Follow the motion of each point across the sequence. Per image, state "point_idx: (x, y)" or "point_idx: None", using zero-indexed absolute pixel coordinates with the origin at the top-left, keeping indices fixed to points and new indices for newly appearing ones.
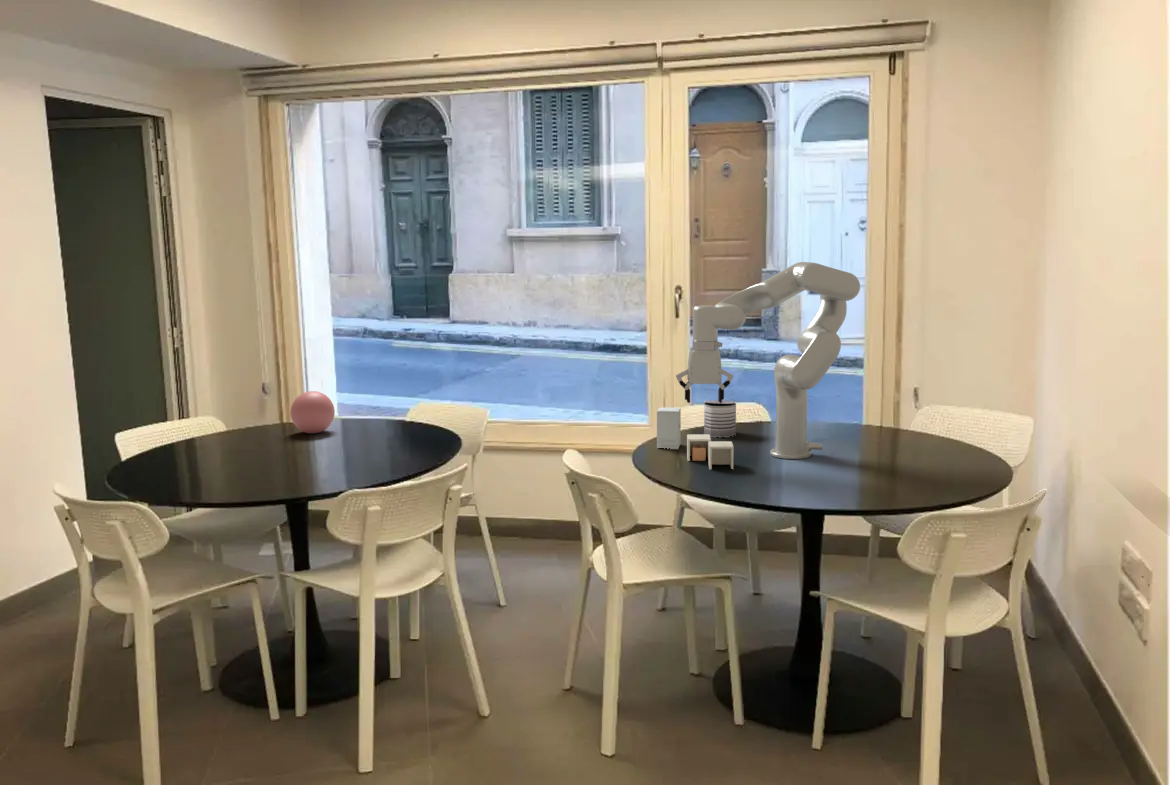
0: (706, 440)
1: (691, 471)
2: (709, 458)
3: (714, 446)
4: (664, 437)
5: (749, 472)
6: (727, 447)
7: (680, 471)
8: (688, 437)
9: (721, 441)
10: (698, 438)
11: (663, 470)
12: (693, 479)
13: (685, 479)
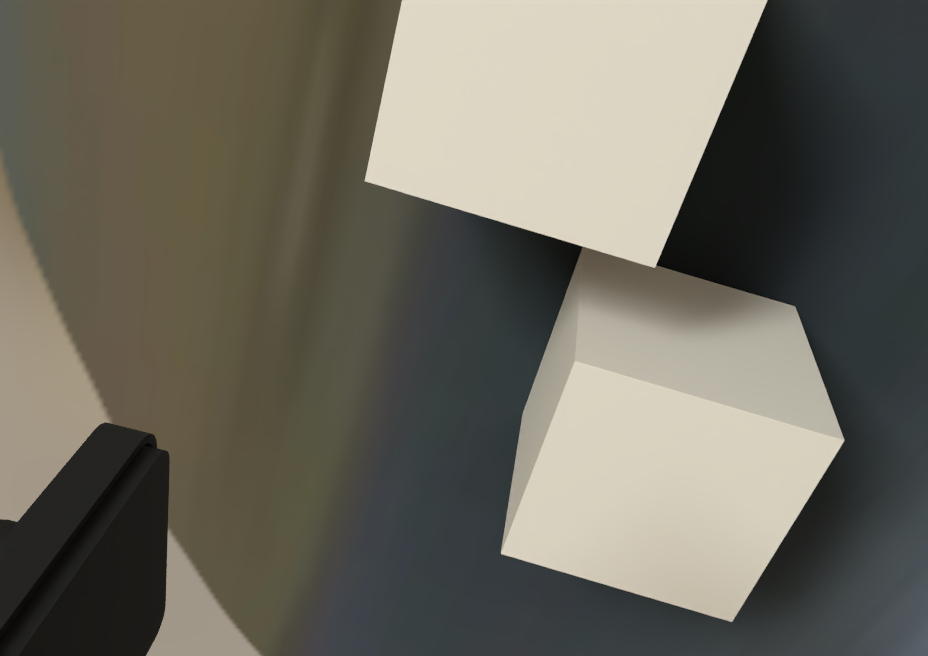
0: (599, 246)
1: (366, 413)
2: (521, 450)
3: (549, 562)
4: None
5: (787, 565)
6: (672, 597)
7: (283, 388)
8: (400, 72)
9: (726, 409)
10: (515, 176)
11: (155, 323)
12: (331, 579)
13: (279, 564)
